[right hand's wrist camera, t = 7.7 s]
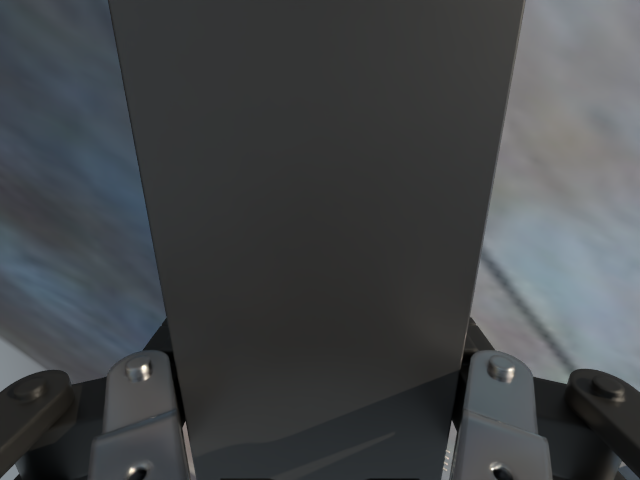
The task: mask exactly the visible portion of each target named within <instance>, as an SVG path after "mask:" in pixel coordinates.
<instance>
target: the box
mask: <svg viewBox="0 0 640 480" xmlns="http://www.w3.org/2000/svg"><path fill="white" fill-rule="evenodd" d="M525 1H526V0H108V3H109V8H110V14H111V19H112V25H113V30H114V35H115V41H116V46H117V52H118V57H119V62H120V68H121V73H122V79H123V84H124V90H125V95H126V100H127V106H128V111H129V117H130V122H131V127H132V133H133V138H134V144H135V149H136V154H137V160H138V165H139V171H140V176H141V182H142V187H143V192H144V198H145V203H146V209H147V214H148V219H149V225H150V230H151V236H152V241H153V246H154V252H155V257H156V263H157V268H158V274H159V279H160V284H161V290H162V295H163V301H164V306H165V311H166V317H167V322H168V328H169V333H170V338H171V344H172V349H173V355H174V360H175V366H176V371H177V376H178V382H179V387H180V393H181V398H182V403H183V409H184V414H185V420H186V425H187V431H188V436H189V441H190V447H191V452H192V458H193V463H194V468H195V474H196V479H197V480H220V479H221V478H270V479H273V480H367V479H370V478H419V479H420V480H441V477H442V471H443V466H444V460H445V454H446V449H447V443H448V437H449V432H450V426H451V420H452V415H453V409H454V403H455V398H456V392H457V386H458V381H459V375H460V369H461V364H462V358H463V352H464V347H465V341H466V335H467V330H468V324H469V318H470V313H471V307H472V301H473V296H474V290H475V284H476V279H477V273H478V267H479V262H480V256H481V250H482V245H483V239H484V233H485V228H486V222H487V216H488V211H489V205H490V199H491V194H492V188H493V182H494V177H495V171H496V165H497V160H498V154H499V148H500V143H501V137H502V131H503V126H504V120H505V114H506V109H507V103H508V97H509V92H510V86H511V81H512V75H513V69H514V64H515V58H516V52H517V47H518V41H519V35H520V30H521V24H522V18H523V13H524V7H525Z"/></svg>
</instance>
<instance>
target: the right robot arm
mask: <svg viewBox="0 0 640 480" xmlns="http://www.w3.org/2000/svg"><path fill="white" fill-rule="evenodd" d="M185 421H186V420H185V414H184V409H183V403H182V398H181V393H180V387H179V382H178V376H177V371H176V366H175V360H174V355H173V349H172V344H171V338H170V333H169V328H168V322H167V318H166V319H165V321H164V322H163V323H162V326H160V327H159V329H158V330H157V331H156V333H155V334H154V336H153V337H152V338H151V340H150V341H149V342H148V344H147V345H146V346H145V348H144V349H143V351H140V352H137V353H134V354H131V355H129V356H127V357H125V358H123V359H121V360H120V361H118V362H117V363H116V364H115V365H114V366H113V367H112V368H111V369H110V371H109V372H108V375H107V377H104V378H100V379H96V380H91V381H87V382H82V383H78V384H73V385H71V382H70V379H69V376H68V374H67V373H65V372H63V371H60V370H47V371H41V372H38V373H34V374H31V375H29V376H26V377H24V378H22V379H20V380H18V381H16V382H14V383H13V384H11V385H9V386H8V387H7V388H5V389H4V390H3V391H1V392H0V478H1V477H2V476H3V475H4V474H5V473H6V472H7V471H8V470H9V469H10V468H11V467H12V466H13V465H14V464H15V465H16V467H17V469H18V472H19V475H18V476H17V477H16V478H15V479H14V480H191V477H190V471H189V465H188V459H187V453H186V446H185V440H184V435H183V430H182V427H183V425H184V423H185ZM452 421H453V423H454V426H455V428H456V430H457V435H456V440H455V446H454V453H453V459H452V465H451V471H450V477H449V480H626V479H625V478H624V477H623V476H622V475H621V474H620V473H619V471H618V469H619V466H620V464H621V462H622V461H623V462H624V463H625V464H626V465H627V466H628V467H629V468H630V469H631V470H632V471H633V472H634V473H635V474H636V475H637V476H638V477H639V478H640V392H639V391H637V390H636V389H635V388H634V387H632V386H631V385H629V384H628V383H626V382H625V381H623V380H621V379H619V378H617V377H615V376H613V375H610V374H608V373H605V372H601V371H598V370H593V369H578V370H575V371H573V372H572V373H571V374H570V377H569V380H568V383H567V384H563V383H559V382H554V381H549V380H545V379H540V378H536V377H533V375H532V372H531V371H530V369H529V368H528V367H527V366H526V365H525V364H524V363H523V362H522V361H520V360H519V359H517V358H515V357H513V356H511V355H509V354H506V353H503V352H500V351H495V349H494V348H493V347H492V345H491V344H490V342H489V341H488V340H487V338H486V337H485V336H484V334H483V333H482V331H481V330H480V329H479V327H478V326H476V323H475V322H474V320H473V319H472V318H471V317H470V318H469V324H468V330H467V335H466V341H465V347H464V352H463V358H462V364H461V369H460V375H459V381H458V386H457V392H456V398H455V403H454V409H453V415H452ZM220 480H273V479H270V478H221V479H220ZM367 480H420V479H419V478H370V479H367Z"/></svg>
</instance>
